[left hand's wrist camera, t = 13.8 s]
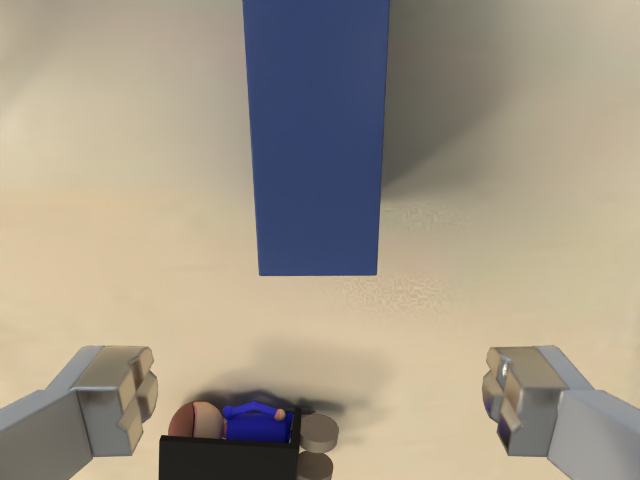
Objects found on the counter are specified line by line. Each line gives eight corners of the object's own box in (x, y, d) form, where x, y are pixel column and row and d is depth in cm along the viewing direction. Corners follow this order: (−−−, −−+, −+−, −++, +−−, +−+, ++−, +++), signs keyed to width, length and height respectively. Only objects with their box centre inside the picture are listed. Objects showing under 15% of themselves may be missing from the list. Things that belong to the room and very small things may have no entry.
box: (357, 206, 35) (376, 275, 23) (279, 206, 35) (258, 276, 23) (367, -134, 27) (404, -294, 15) (266, -133, 27) (224, -294, 15)
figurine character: (332, 384, 43) (173, 381, 40) (345, 447, 36) (154, 448, 33) (324, 436, 45) (174, 436, 43) (335, 505, 38) (156, 509, 36)
